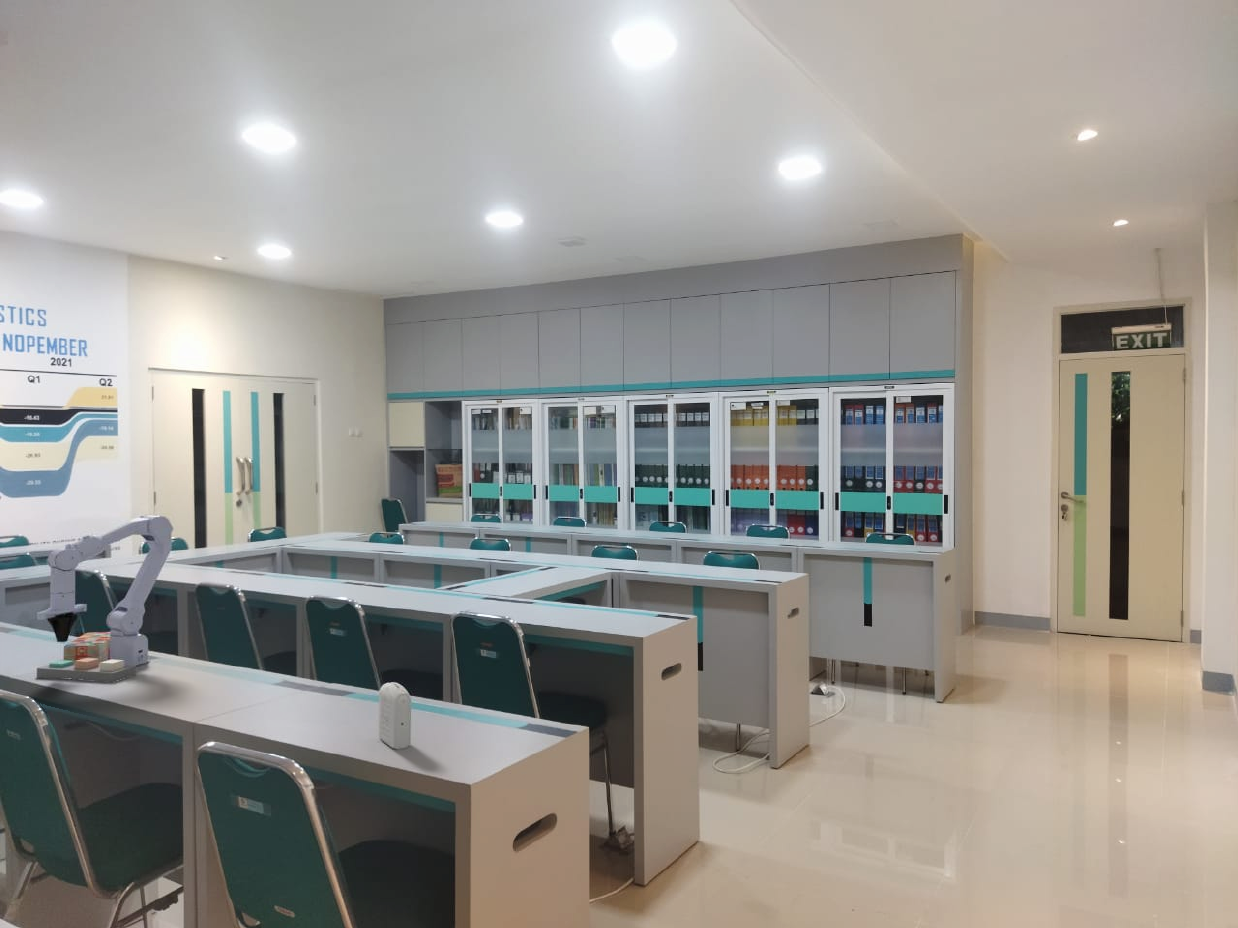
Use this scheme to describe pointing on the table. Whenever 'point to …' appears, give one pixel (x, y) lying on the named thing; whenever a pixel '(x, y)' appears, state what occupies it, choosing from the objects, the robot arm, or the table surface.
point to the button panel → (86, 673)
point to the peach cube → (86, 663)
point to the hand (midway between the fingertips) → (62, 641)
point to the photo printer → (395, 715)
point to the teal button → (61, 664)
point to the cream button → (111, 665)
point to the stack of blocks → (89, 647)
